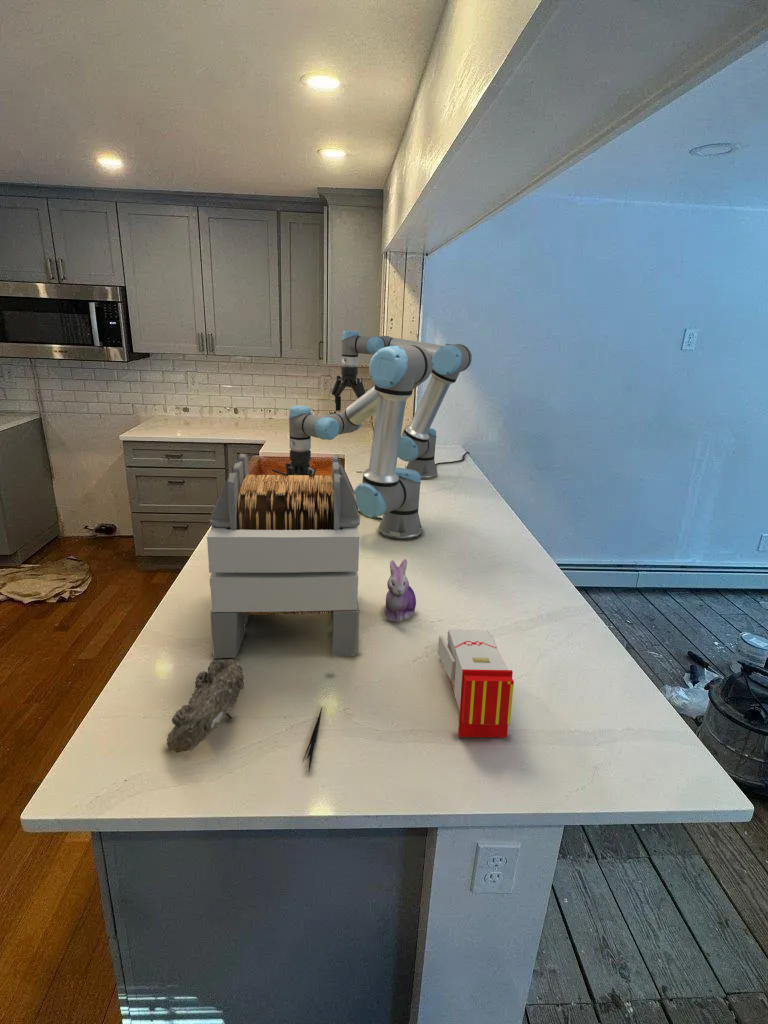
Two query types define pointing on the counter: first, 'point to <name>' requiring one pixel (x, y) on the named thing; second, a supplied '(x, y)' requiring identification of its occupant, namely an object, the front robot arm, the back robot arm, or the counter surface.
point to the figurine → (399, 594)
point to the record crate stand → (284, 553)
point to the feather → (313, 740)
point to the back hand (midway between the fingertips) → (348, 412)
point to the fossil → (206, 705)
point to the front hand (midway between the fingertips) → (300, 510)
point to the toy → (478, 682)
